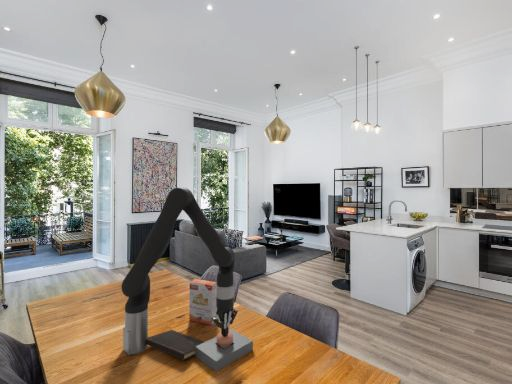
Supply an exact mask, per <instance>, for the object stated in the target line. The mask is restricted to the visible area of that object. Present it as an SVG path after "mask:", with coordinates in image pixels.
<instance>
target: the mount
mask: <svg viewBox="0 0 512 384" xmlns="http://www.w3.org/2000/svg"><path fill="white" fill-rule="evenodd" d="M229 332H231V333H232V334H233V343H232V344H231V345H230V346H229V347H228V348H226V349H222V348H221V347H220V345H218V344H217V336H214V337H212V338H211V339H207V340H206V341H204V343H202V344H200V345H198V346H196V352H195V354H196V355H194V356H195V357H196V358H197V359H199V360H200V361H201V362H202V363H204V364H205V365H206V366H208V367H209V368H210V369H212V370H213V371H214V372H215V373H217V372H218V371H220V370H221V369H223V368H226V367H227V366H228V365H230V364H232V363H233V362H235V361H237V360H239V359H240V358H242V357H244V356H245V355H247V354H248V353H251V352H252V351H253V350H254V341H253V339H250V338H249V337H247V336H245V335H243V334H241V333H240V332H238V331H236V330H234V329H232V328H231V329H229Z"/></svg>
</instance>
